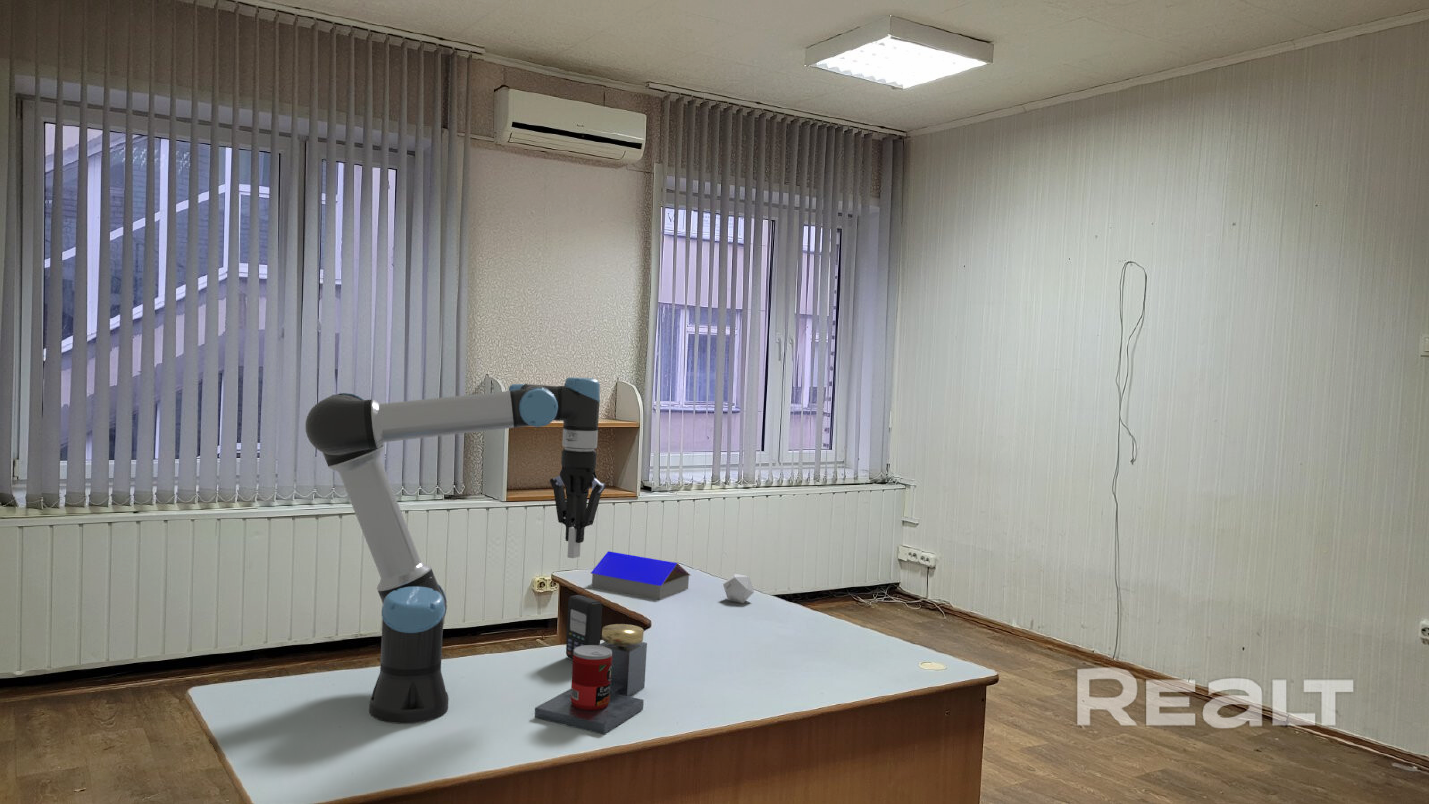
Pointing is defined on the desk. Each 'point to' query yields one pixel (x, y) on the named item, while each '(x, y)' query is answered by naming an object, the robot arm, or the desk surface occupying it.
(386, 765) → the desk surface
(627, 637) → the door knob
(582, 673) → the canned food
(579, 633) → the card reader
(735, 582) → the die
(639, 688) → the grey stepped stand
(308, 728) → the desk surface
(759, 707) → the desk surface
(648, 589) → the house
